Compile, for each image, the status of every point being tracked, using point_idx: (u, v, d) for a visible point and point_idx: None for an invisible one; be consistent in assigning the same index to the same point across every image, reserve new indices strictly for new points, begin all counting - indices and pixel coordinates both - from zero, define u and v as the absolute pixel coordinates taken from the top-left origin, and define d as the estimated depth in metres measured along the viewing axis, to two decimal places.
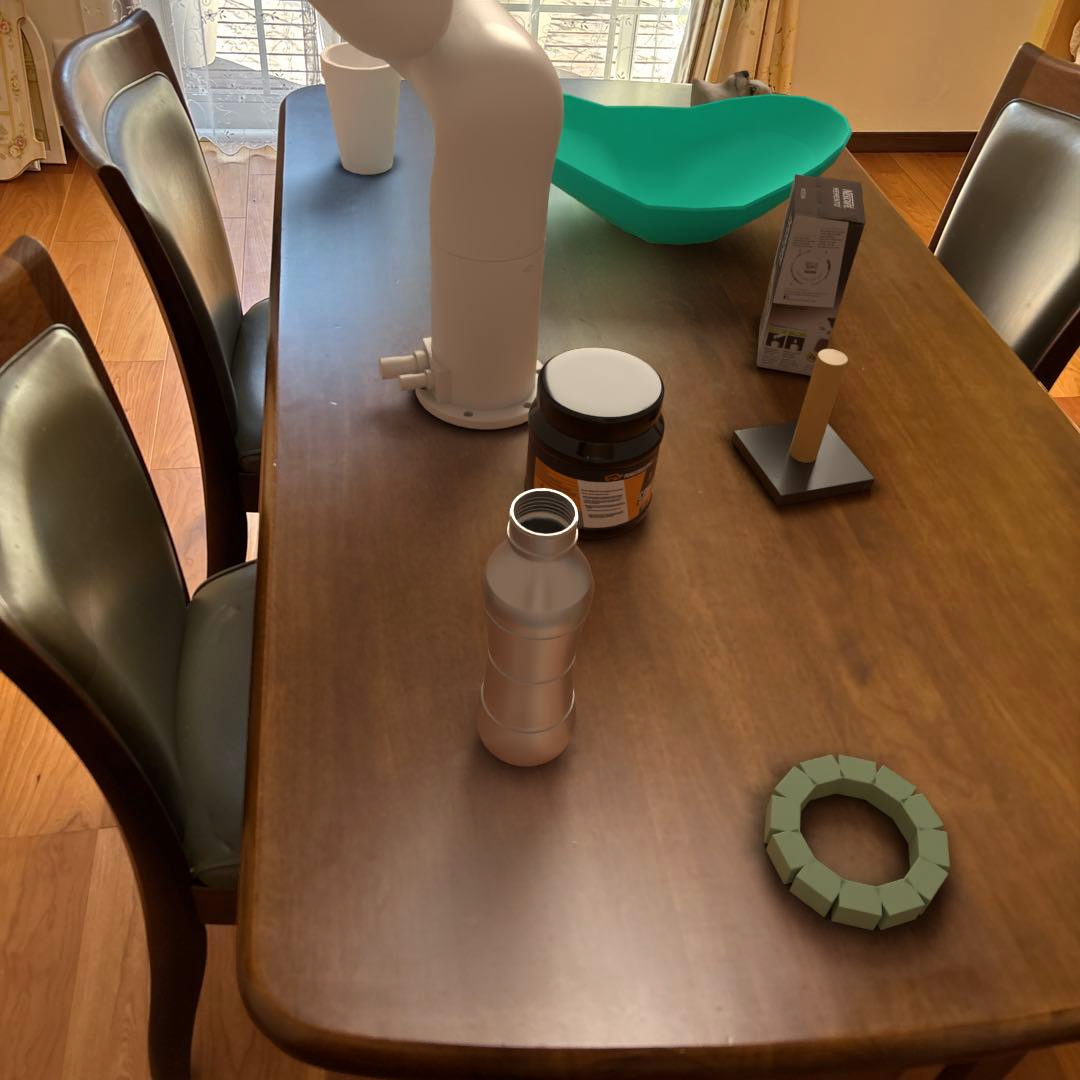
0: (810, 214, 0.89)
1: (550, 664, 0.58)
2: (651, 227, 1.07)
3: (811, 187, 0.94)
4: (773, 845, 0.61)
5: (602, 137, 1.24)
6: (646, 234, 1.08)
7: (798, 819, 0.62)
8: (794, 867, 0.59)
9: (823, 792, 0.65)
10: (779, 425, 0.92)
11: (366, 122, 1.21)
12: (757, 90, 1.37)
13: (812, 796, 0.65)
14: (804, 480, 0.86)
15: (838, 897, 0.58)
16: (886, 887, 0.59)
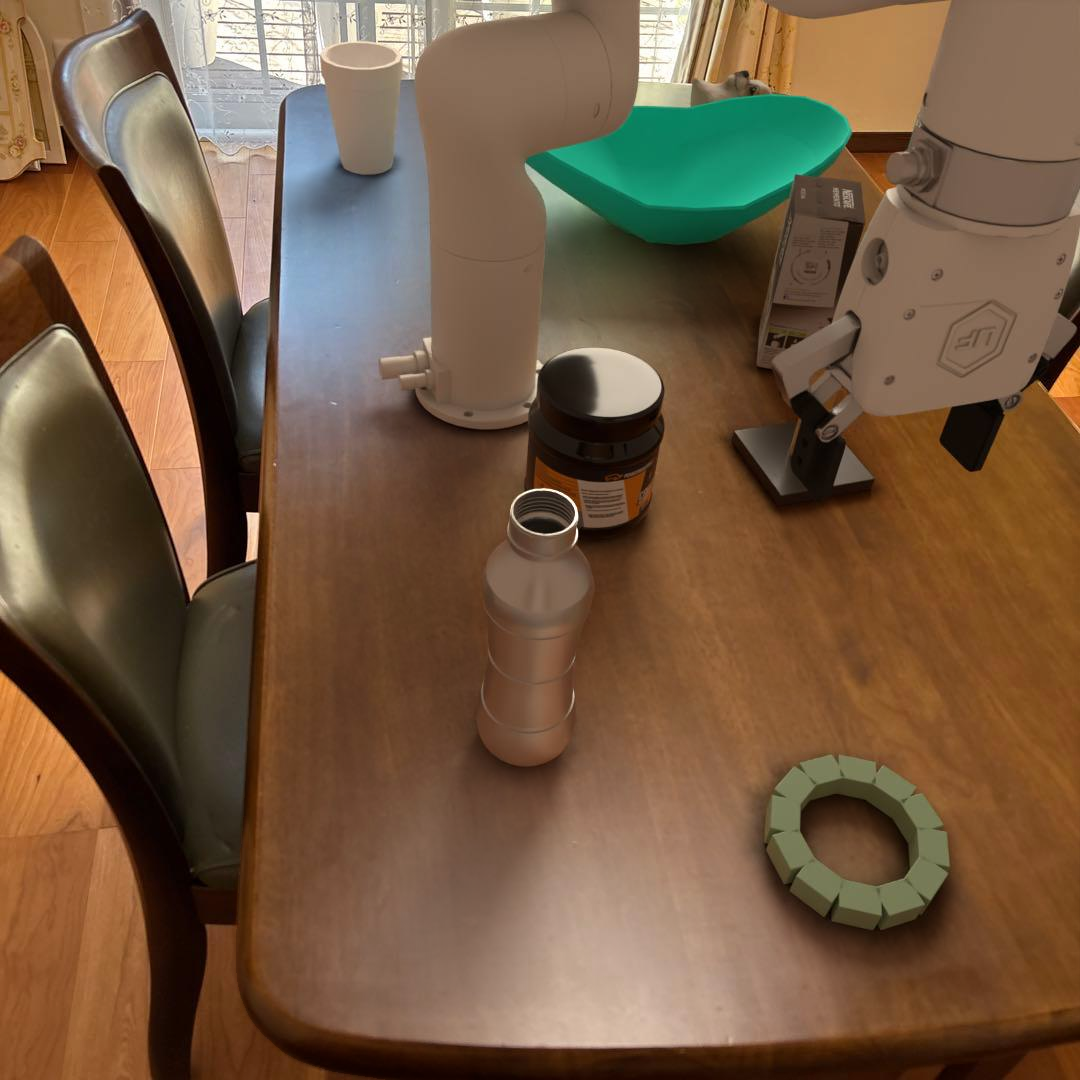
0: (809, 214, 0.89)
1: (550, 664, 0.58)
2: (651, 227, 1.07)
3: (811, 187, 0.94)
4: (773, 845, 0.61)
5: (602, 137, 1.24)
6: (646, 234, 1.08)
7: (798, 819, 0.62)
8: (794, 867, 0.59)
9: (823, 792, 0.65)
10: (779, 425, 0.92)
11: (366, 122, 1.21)
12: (757, 90, 1.37)
13: (812, 796, 0.65)
14: None
15: (838, 897, 0.58)
16: (886, 887, 0.59)
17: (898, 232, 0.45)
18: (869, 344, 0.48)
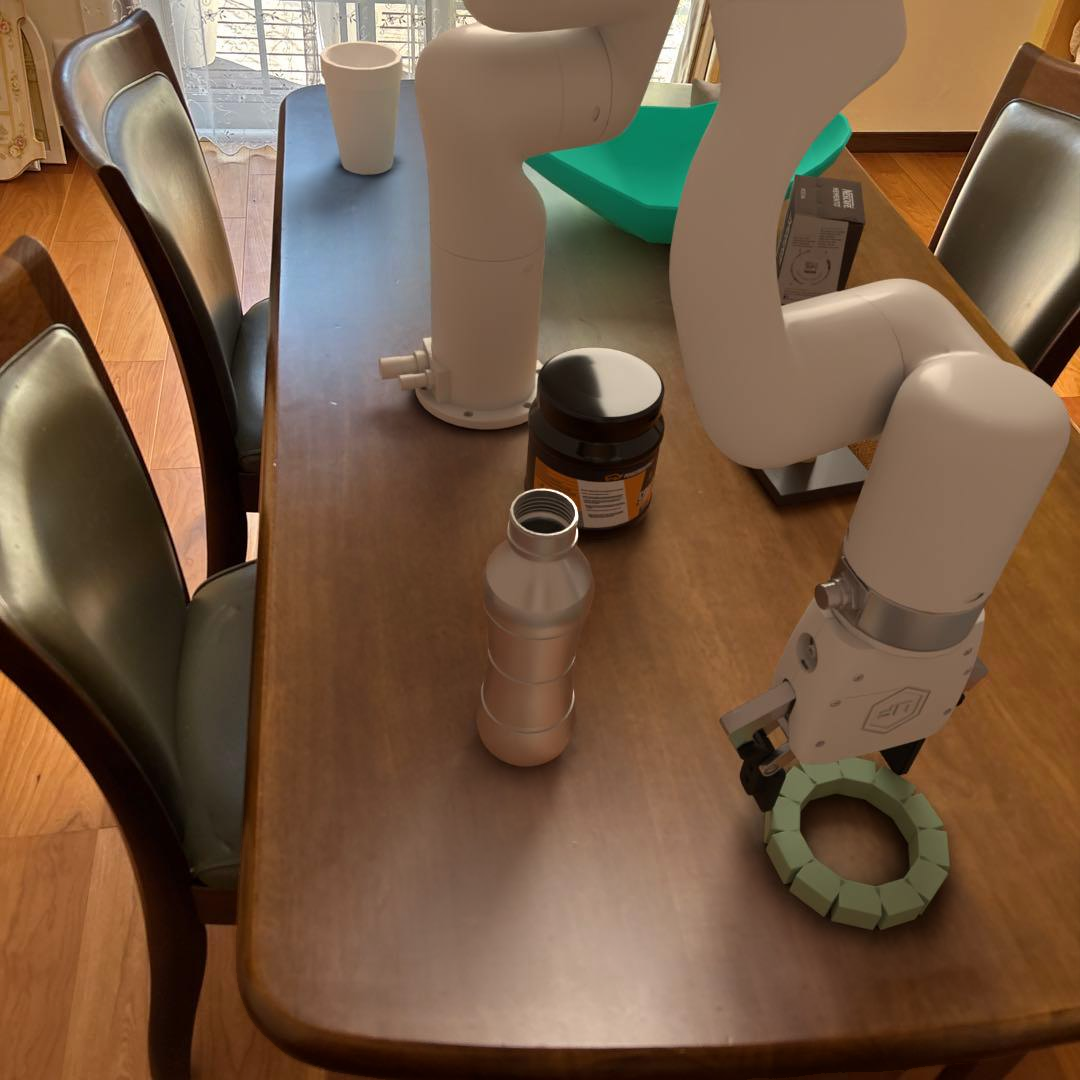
0: (809, 214, 0.89)
1: (550, 664, 0.58)
2: (651, 227, 1.07)
3: (811, 187, 0.94)
4: (773, 845, 0.61)
5: None
6: (646, 234, 1.08)
7: (798, 819, 0.62)
8: (794, 866, 0.59)
9: (823, 792, 0.65)
10: None
11: (366, 122, 1.21)
12: None
13: (812, 796, 0.65)
14: (804, 480, 0.86)
15: (838, 897, 0.58)
16: (886, 887, 0.59)
17: (825, 640, 0.53)
18: (802, 716, 0.55)
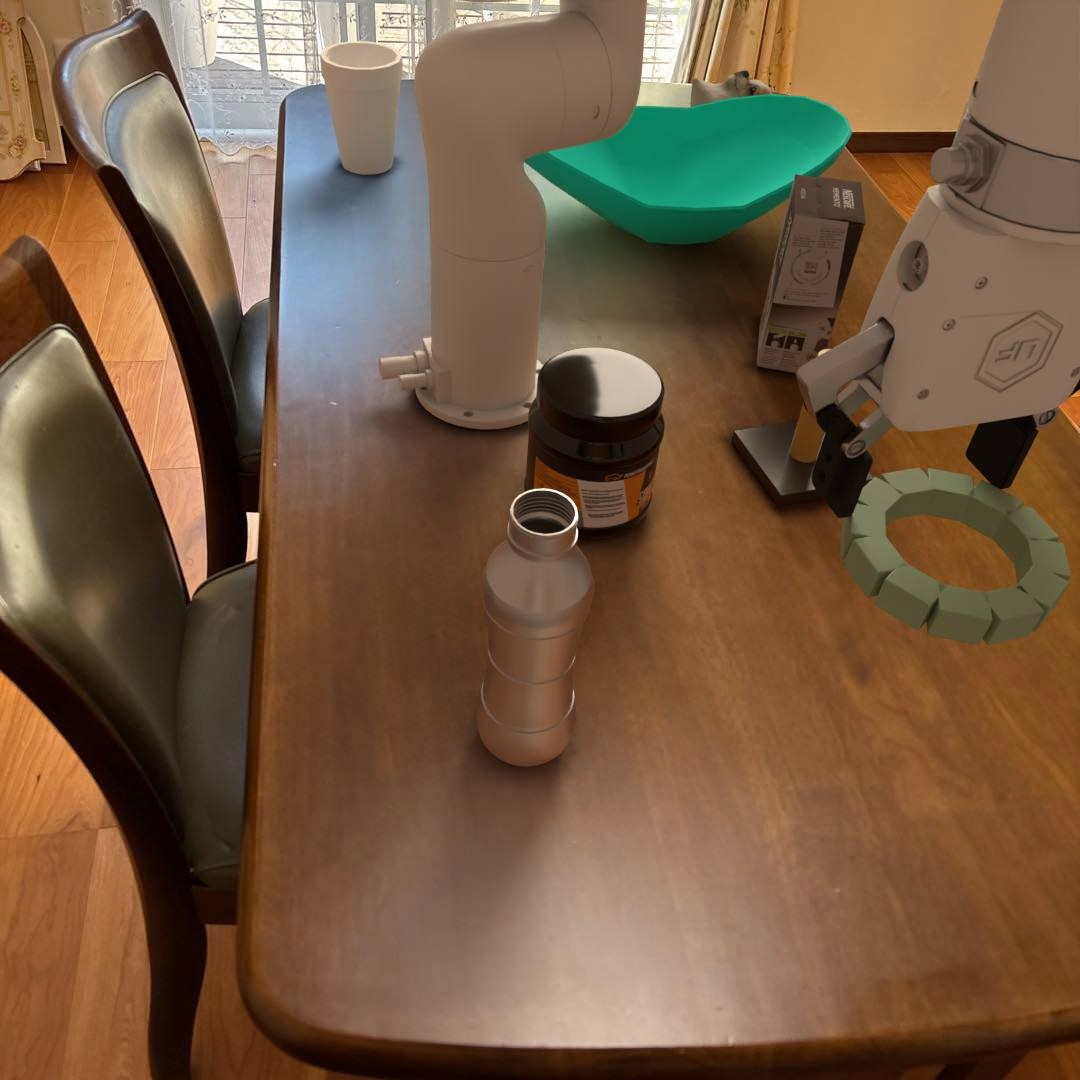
0: (809, 214, 0.89)
1: (550, 664, 0.58)
2: (651, 227, 1.07)
3: (811, 187, 0.94)
4: (854, 552, 0.50)
5: None
6: (646, 234, 1.08)
7: (884, 526, 0.51)
8: (882, 570, 0.49)
9: (909, 508, 0.54)
10: (779, 425, 0.92)
11: (366, 122, 1.21)
12: (757, 90, 1.37)
13: (896, 513, 0.54)
14: (804, 480, 0.86)
15: (937, 602, 0.48)
16: (995, 593, 0.48)
17: (940, 235, 0.42)
18: (903, 355, 0.44)
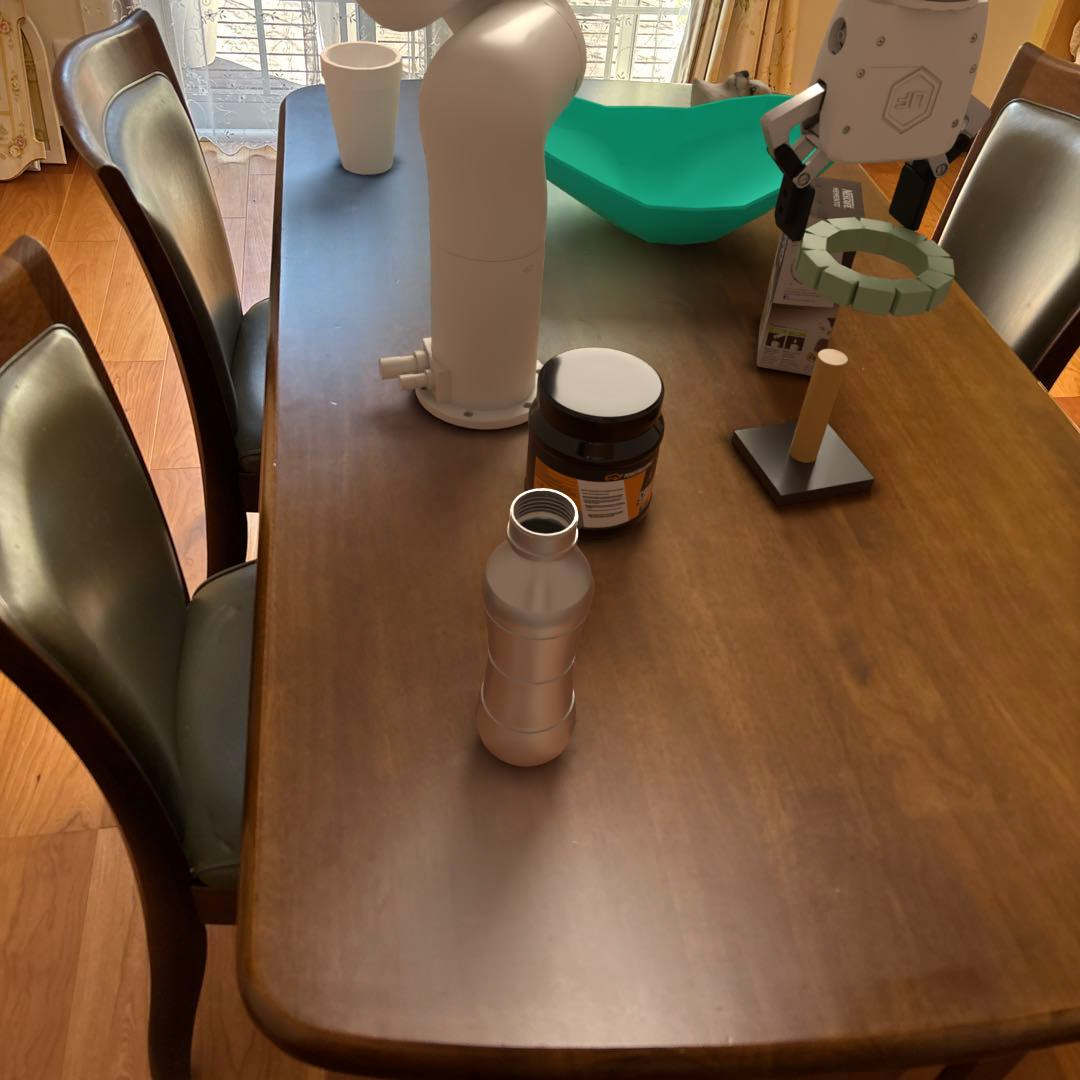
0: None
1: (550, 664, 0.58)
2: (651, 227, 1.07)
3: None
4: (803, 260, 0.71)
5: (602, 137, 1.24)
6: (646, 234, 1.08)
7: (825, 244, 0.72)
8: (821, 266, 0.69)
9: (846, 243, 0.75)
10: (779, 425, 0.92)
11: (366, 122, 1.21)
12: (757, 90, 1.37)
13: (837, 246, 0.74)
14: (804, 480, 0.86)
15: (858, 284, 0.68)
16: (899, 280, 0.69)
17: (853, 9, 0.62)
18: (832, 101, 0.65)
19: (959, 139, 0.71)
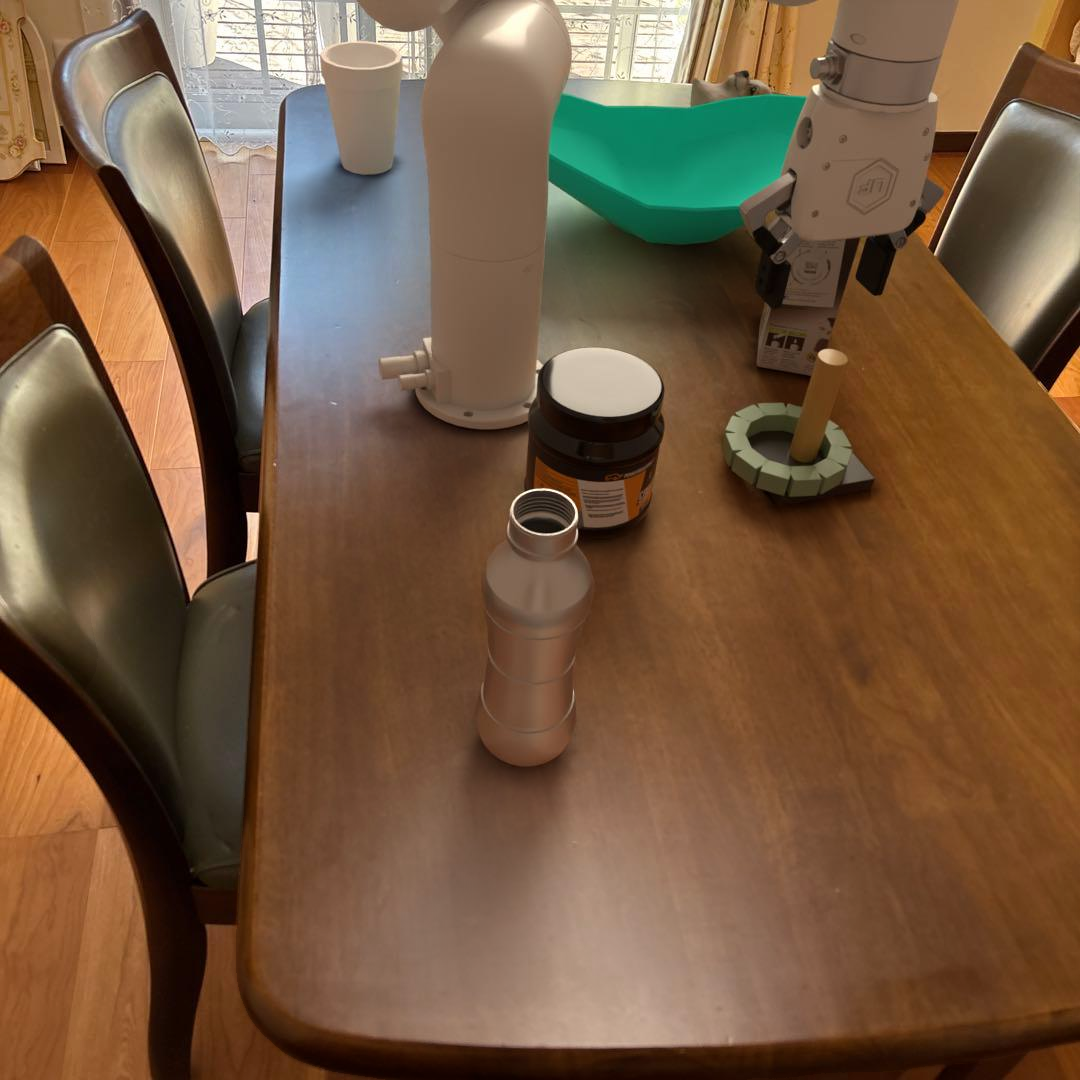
0: None
1: (550, 664, 0.58)
2: (651, 227, 1.07)
3: None
4: (725, 440, 0.87)
5: (602, 137, 1.24)
6: (646, 234, 1.08)
7: (746, 428, 0.88)
8: (735, 449, 0.86)
9: (771, 425, 0.90)
10: None
11: (366, 122, 1.21)
12: (757, 90, 1.37)
13: (763, 427, 0.90)
14: None
15: (761, 468, 0.84)
16: (797, 467, 0.84)
17: (818, 111, 0.71)
18: (801, 189, 0.73)
19: (915, 215, 0.79)
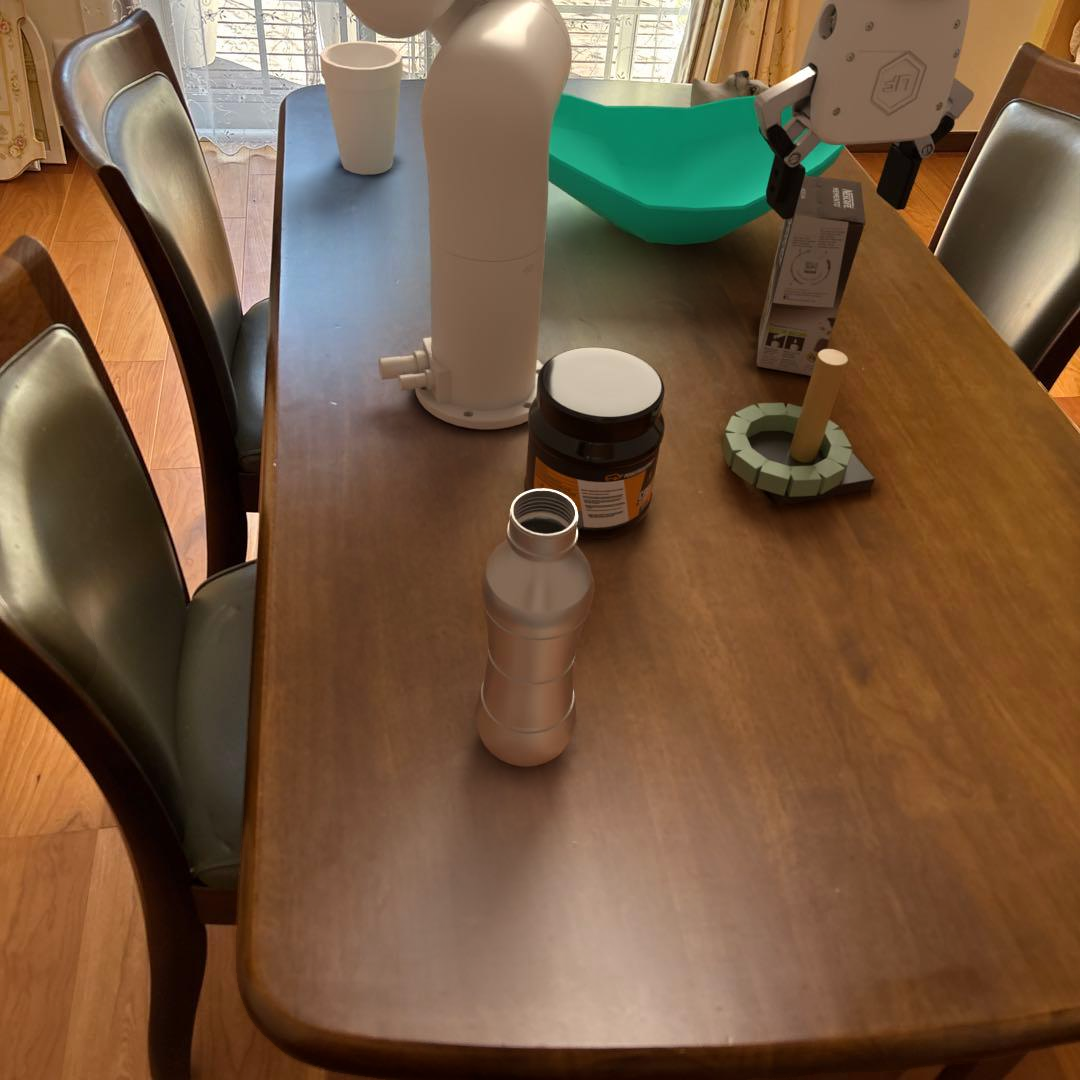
0: (809, 214, 0.89)
1: (550, 664, 0.58)
2: (651, 227, 1.07)
3: (811, 187, 0.94)
4: (725, 440, 0.87)
5: (602, 137, 1.24)
6: (646, 234, 1.08)
7: (746, 428, 0.88)
8: (735, 449, 0.86)
9: (771, 425, 0.90)
10: None
11: (366, 122, 1.21)
12: (757, 90, 1.37)
13: (763, 427, 0.90)
14: None
15: (761, 468, 0.84)
16: (797, 467, 0.84)
17: None
18: (822, 84, 0.68)
19: (944, 121, 0.74)
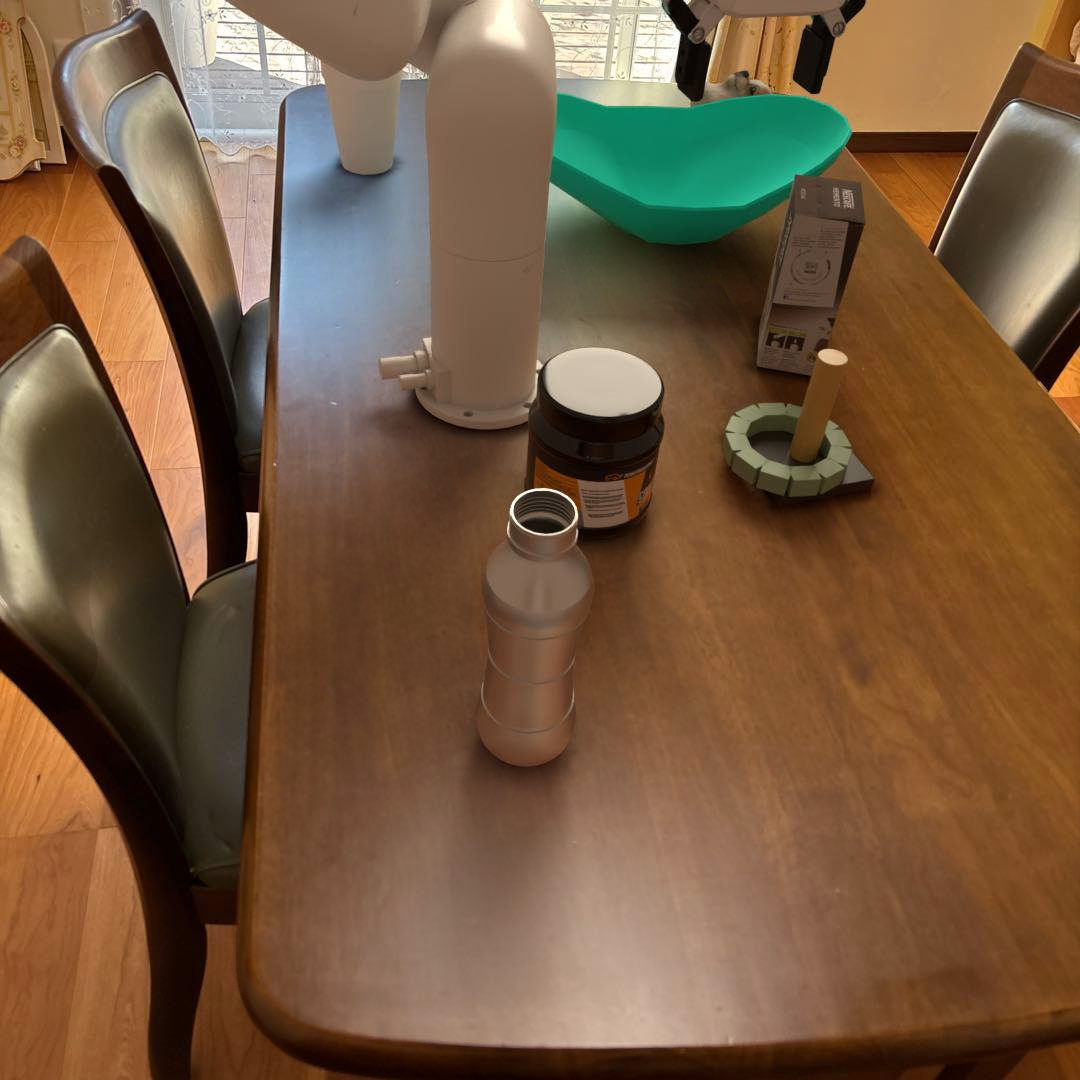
0: (809, 214, 0.89)
1: (550, 664, 0.58)
2: (651, 227, 1.07)
3: (811, 187, 0.94)
4: (725, 440, 0.87)
5: (602, 137, 1.24)
6: (646, 234, 1.08)
7: (746, 428, 0.88)
8: (735, 449, 0.86)
9: (771, 425, 0.90)
10: None
11: (366, 122, 1.21)
12: (757, 90, 1.37)
13: (763, 427, 0.90)
14: None
15: (761, 468, 0.84)
16: (797, 467, 0.84)
17: None
18: None
19: None
